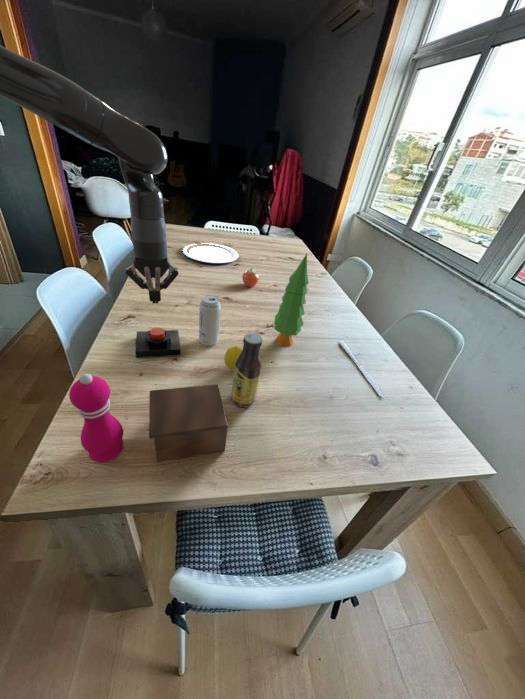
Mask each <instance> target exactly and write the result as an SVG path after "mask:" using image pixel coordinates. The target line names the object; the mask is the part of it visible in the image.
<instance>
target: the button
mask: <svg viewBox="0 0 525 699" xmlns="http://www.w3.org/2000/svg"><path fill="white" fill-rule="evenodd" d="M165 330H166V329H164V328H162V327H153V328H151V329H150V337H151V338H152V339H154V340H161V339H163V338H164V337H165Z"/></svg>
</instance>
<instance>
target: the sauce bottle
mask: <svg viewBox="0 0 525 699" xmlns="http://www.w3.org/2000/svg"><path fill="white" fill-rule="evenodd" d="M242 342H243V346H242V352H241V354H240V356H239V357H238V359H237V361H236V362H235V368H234V370H233V376H232V384H231V390H230V398H231V402H232V403H233V404H234V405H235V406H237V407H240V408H247V407H250V406H251V405H252V404H254V402H255V399H256V397H257V396H256V395H257V391H258V386H259V381H260V376H261V370H262V364H263V361H262V357H261V355H260V350H261V347H262V345H263V337H262V335H260V334H258V333H255V332H249V333H248V332H247V333H246V334H245V335H244V336H243V341H242Z"/></svg>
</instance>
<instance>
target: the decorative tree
mask: <svg viewBox="0 0 525 699" xmlns="http://www.w3.org/2000/svg"><path fill="white" fill-rule="evenodd" d="M308 285H309V277H308V253H306V254H304V256H303V259H302V260H301V261H300V263H299V264H298V266H297V267H296V269H295V270H294V271H293V272H292V273H291V275H290V276H289V279H288V282H287V285H286V286H285V292H284V294H283V295H282V296H281V297H282V298H281V301H282V302H281V303H280V304H279V309H278V312H277V313H276V314H275V316H274V322H273V324H274V329H273V330H275V331H276V332H278V333H279V334H278V336H277V337H276V338H275V341H276V342H277V343H278V344H279V345H280V346H287V347H289V346H290V347H291V346H292V345H293V343H294V342H293V336H295V337H297V335H298V334H299V333H300V332H301V331H302V327H303V326H304V320H303V316H304V315H305V314H306V313H305V309H304V305H306V304H307V302H306V301H307V300H306V295H307V294H308V287H307V286H308Z"/></svg>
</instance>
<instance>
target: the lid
mask: <svg viewBox="0 0 525 699" xmlns="http://www.w3.org/2000/svg"><path fill="white" fill-rule="evenodd" d="M148 403H149V406H148V407H149V409H148V412H149V414H148V416H149V418H148V438H149V440H150V439H154V438H159V437H166V436H173V435H180V434H187V433H194V432H201V431H208V430H216V429H223V428H227V429H228V427H229V425H228V421H227V417H226V411H225V408H224V403H223V400H222V395H221V392H220V388H219V383H216V384H215V383H214V384H205V385H194V386H185V387H184V386H183V387H174V388H173V387H172V388H164V389H154V390H153V389H151V390H149V402H148Z"/></svg>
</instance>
